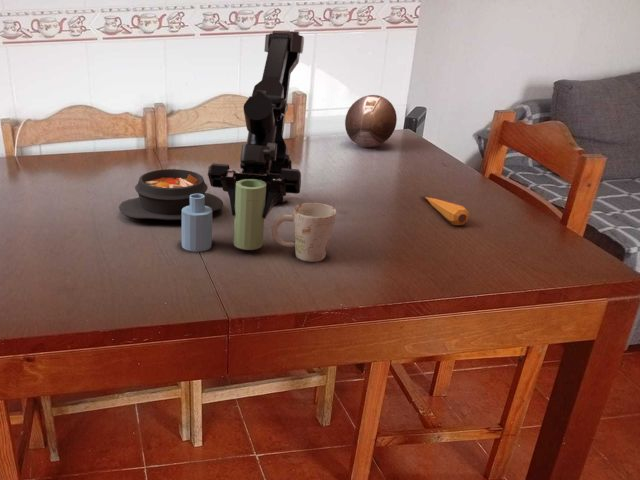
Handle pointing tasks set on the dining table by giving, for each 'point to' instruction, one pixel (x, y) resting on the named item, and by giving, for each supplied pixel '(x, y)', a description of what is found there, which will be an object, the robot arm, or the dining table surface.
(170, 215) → the casserole
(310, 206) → the mug
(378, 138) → the bronze metallic sphere
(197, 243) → the bottle
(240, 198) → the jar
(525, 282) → the dining table surface
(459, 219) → the carrot
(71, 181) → the dining table surface
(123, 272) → the dining table surface
